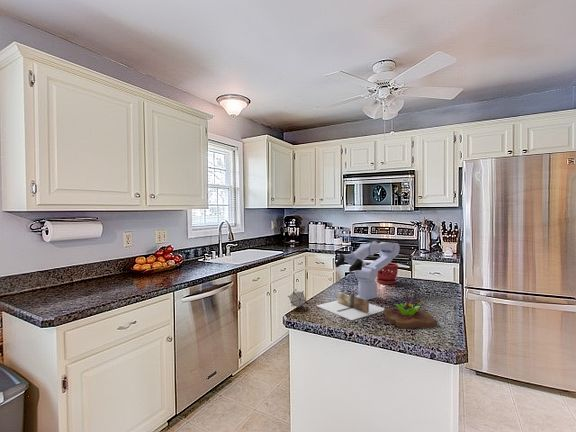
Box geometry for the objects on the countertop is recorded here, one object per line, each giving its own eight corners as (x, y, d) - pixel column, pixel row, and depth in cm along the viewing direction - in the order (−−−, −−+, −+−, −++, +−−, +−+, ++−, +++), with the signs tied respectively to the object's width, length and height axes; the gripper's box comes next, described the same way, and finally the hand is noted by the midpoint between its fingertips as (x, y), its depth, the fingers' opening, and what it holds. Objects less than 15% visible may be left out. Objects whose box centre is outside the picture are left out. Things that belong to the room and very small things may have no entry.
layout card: (350, 297, 161) (350, 297, 161) (387, 310, 142) (387, 309, 142) (316, 306, 148) (316, 305, 148) (351, 320, 129) (351, 319, 129)
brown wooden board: (353, 307, 143) (353, 297, 143) (355, 307, 144) (355, 296, 144) (367, 312, 137) (367, 301, 137) (368, 312, 137) (368, 301, 137)
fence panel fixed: (355, 307, 144) (355, 294, 144) (352, 308, 143) (352, 294, 143) (339, 302, 153) (339, 289, 153) (337, 302, 152) (337, 289, 152)
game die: (296, 316, 145) (286, 302, 140) (291, 304, 152) (282, 291, 148) (312, 306, 145) (304, 292, 140) (307, 295, 153) (298, 281, 148)
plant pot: (400, 285, 186) (400, 265, 186) (378, 285, 186) (378, 265, 186) (393, 280, 199) (393, 261, 199) (373, 280, 199) (373, 261, 199)
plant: (420, 311, 141) (420, 287, 141) (443, 328, 121) (443, 300, 121) (376, 312, 140) (376, 287, 140) (393, 329, 121) (393, 300, 120)
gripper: (345, 245, 159) (329, 256, 150) (371, 252, 149) (356, 264, 140) (345, 257, 161) (330, 268, 152) (370, 265, 152) (356, 278, 143)
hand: (342, 267), depth 146 cm, fingers open, 7 cm apart
